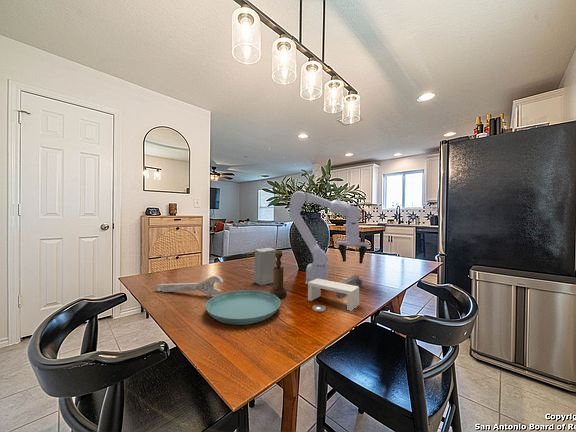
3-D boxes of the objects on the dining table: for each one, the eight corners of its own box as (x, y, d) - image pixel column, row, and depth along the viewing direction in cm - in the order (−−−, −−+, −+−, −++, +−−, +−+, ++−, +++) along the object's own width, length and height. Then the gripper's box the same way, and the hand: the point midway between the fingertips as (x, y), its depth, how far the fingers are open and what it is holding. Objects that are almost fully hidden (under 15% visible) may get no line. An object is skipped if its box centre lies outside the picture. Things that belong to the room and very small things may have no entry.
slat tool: (332, 295, 95) (332, 284, 95) (351, 284, 111) (351, 274, 111) (344, 298, 92) (344, 286, 92) (362, 286, 108) (362, 276, 108)
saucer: (202, 334, 65) (202, 321, 65) (207, 301, 88) (207, 292, 88) (288, 324, 71) (288, 312, 71) (272, 296, 94) (272, 287, 94)
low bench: (307, 300, 90) (308, 282, 90) (317, 295, 95) (317, 278, 95) (351, 311, 80) (351, 291, 80) (359, 305, 85) (359, 286, 85)
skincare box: (268, 279, 117) (269, 247, 117) (276, 283, 111) (277, 249, 111) (253, 282, 112) (253, 248, 112) (260, 286, 106) (261, 250, 106)
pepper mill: (266, 297, 93) (267, 250, 92) (275, 292, 98) (275, 248, 98) (281, 300, 89) (282, 252, 89) (289, 295, 95) (290, 249, 95)
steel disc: (310, 308, 83) (310, 305, 83) (322, 307, 84) (322, 304, 84) (315, 312, 79) (315, 309, 79) (327, 311, 80) (327, 308, 80)
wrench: (159, 297, 99) (225, 295, 92) (156, 299, 98) (222, 297, 90) (157, 278, 99) (222, 274, 92) (154, 279, 98) (220, 276, 90)
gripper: (334, 232, 110) (334, 262, 110) (366, 233, 102) (366, 265, 102) (339, 231, 116) (339, 259, 116) (370, 232, 108) (370, 262, 108)
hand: (352, 262), depth 109 cm, fingers open, 7 cm apart
